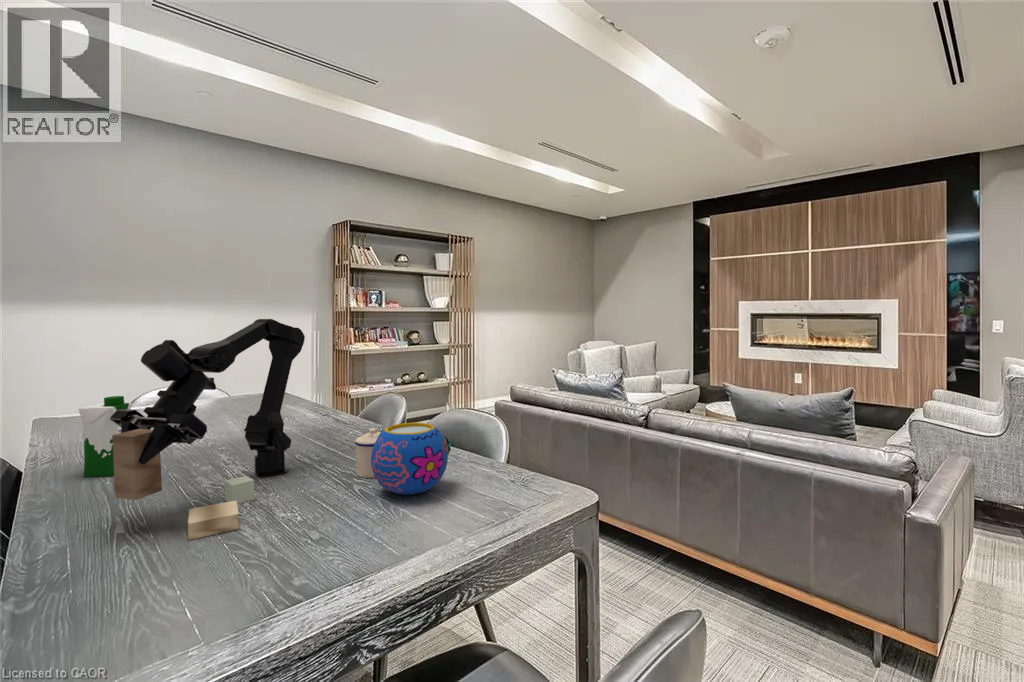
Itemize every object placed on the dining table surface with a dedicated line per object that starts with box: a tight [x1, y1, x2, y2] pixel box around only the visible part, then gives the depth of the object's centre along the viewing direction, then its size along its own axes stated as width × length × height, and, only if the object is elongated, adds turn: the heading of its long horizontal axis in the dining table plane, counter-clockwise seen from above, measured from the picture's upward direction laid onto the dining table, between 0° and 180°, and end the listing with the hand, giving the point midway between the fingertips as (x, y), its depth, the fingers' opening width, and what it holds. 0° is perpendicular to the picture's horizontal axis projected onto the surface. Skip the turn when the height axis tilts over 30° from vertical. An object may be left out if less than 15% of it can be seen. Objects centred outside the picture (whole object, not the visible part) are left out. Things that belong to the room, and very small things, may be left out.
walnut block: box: [112, 429, 163, 501], centre depth 90 cm, size 5×5×12 cm
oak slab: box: [187, 500, 240, 541], centre depth 91 cm, size 8×8×3 cm
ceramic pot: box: [371, 422, 452, 496], centre depth 109 cm, size 18×18×15 cm
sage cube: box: [224, 475, 255, 505], centre depth 105 cm, size 4×4×4 cm
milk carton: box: [78, 395, 132, 478], centre depth 123 cm, size 9×9×20 cm
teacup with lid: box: [354, 427, 381, 479], centre depth 123 cm, size 12×9×12 cm
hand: (130, 462), depth 88 cm, fingers closed on walnut block, 5 cm apart
